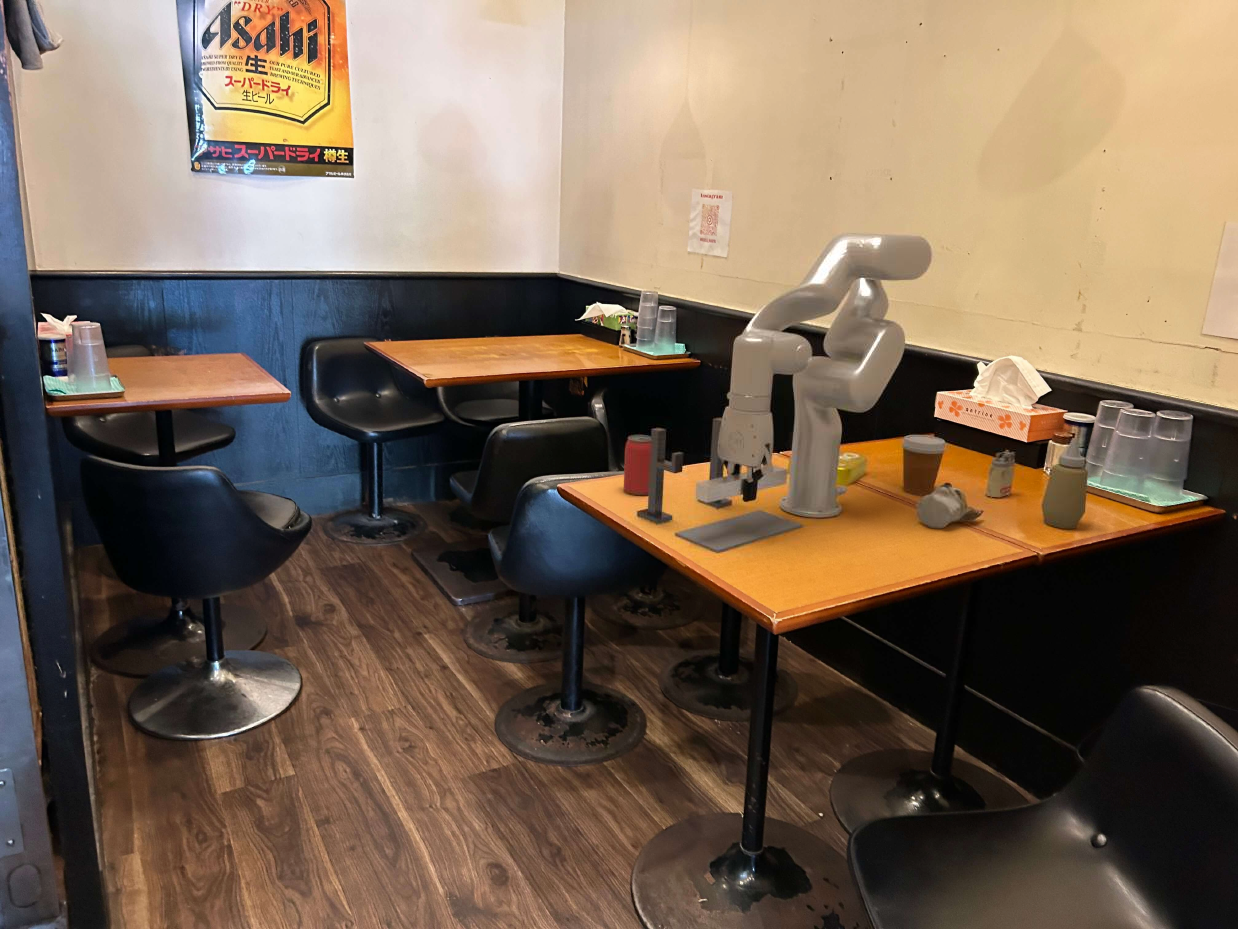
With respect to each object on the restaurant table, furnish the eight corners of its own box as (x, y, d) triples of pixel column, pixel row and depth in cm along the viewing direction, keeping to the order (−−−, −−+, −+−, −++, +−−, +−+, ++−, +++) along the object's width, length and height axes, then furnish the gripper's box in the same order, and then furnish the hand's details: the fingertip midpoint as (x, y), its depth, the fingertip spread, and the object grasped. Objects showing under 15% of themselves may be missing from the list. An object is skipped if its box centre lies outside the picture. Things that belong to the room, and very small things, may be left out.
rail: (774, 480, 175) (775, 465, 174) (786, 483, 173) (787, 469, 172) (695, 498, 161) (696, 482, 160) (707, 502, 159) (708, 486, 158)
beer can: (651, 497, 188) (653, 442, 185) (620, 494, 189) (622, 440, 186) (656, 488, 194) (658, 435, 191) (626, 485, 195) (628, 433, 192)
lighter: (997, 499, 195) (1004, 456, 192) (981, 495, 198) (987, 452, 195) (1013, 494, 200) (1020, 451, 197) (997, 490, 202) (1004, 447, 200)
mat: (759, 512, 181) (760, 509, 181) (802, 527, 173) (802, 524, 173) (674, 535, 166) (674, 532, 166) (717, 553, 158) (717, 550, 158)
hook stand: (710, 497, 189) (716, 415, 184) (742, 508, 183) (748, 423, 178) (636, 515, 176) (640, 427, 171) (667, 528, 169) (672, 437, 165)
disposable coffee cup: (893, 493, 197) (900, 441, 194) (897, 482, 205) (904, 432, 202) (939, 500, 193) (946, 446, 190) (941, 488, 202) (948, 437, 199)
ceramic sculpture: (906, 480, 176) (942, 472, 186) (899, 522, 178) (935, 511, 188) (958, 494, 168) (991, 484, 179) (950, 537, 170) (984, 525, 181)
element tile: (808, 462, 221) (810, 444, 220) (867, 473, 213) (869, 454, 212) (784, 475, 209) (786, 456, 207) (846, 488, 201) (848, 467, 200)
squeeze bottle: (1064, 533, 175) (1080, 445, 170) (1029, 521, 182) (1044, 435, 177) (1091, 528, 178) (1107, 441, 173) (1055, 516, 185) (1070, 432, 180)
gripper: (703, 397, 166) (697, 490, 171) (770, 413, 154) (761, 513, 159) (731, 393, 171) (724, 484, 176) (797, 408, 159) (788, 506, 164)
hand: (742, 497), depth 167 cm, fingers closed on rail, 3 cm apart
